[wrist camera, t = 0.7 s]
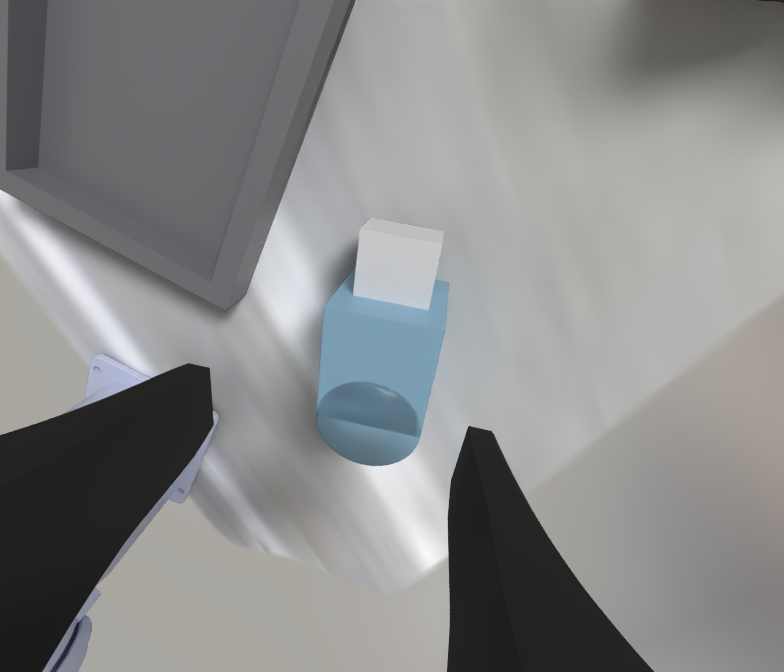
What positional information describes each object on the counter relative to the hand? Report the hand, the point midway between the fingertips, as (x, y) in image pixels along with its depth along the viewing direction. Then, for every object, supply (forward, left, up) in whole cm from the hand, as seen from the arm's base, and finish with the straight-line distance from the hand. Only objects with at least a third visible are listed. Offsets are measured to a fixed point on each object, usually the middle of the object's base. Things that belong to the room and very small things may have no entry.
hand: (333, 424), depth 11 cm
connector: (-1, -1, -9) cm, 9 cm away
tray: (+4, +12, -9) cm, 16 cm away
